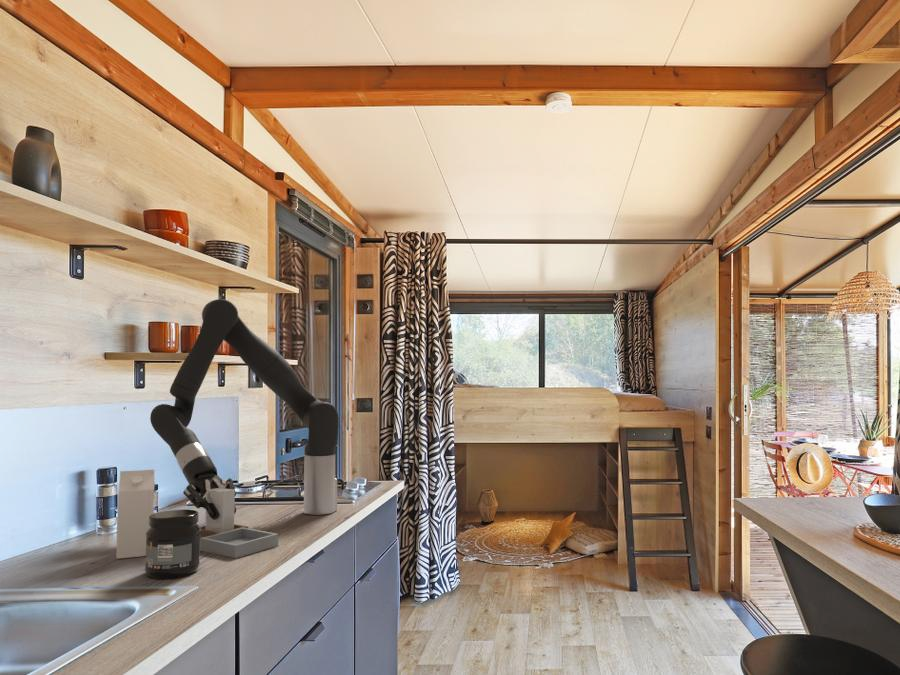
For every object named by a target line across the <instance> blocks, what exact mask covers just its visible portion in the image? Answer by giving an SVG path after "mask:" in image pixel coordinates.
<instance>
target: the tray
mask: <svg viewBox="0 0 900 675" xmlns="http://www.w3.org/2000/svg"><path fill="white" fill-rule="evenodd" d="M278 546H279V533H275V532H270V531H269V532H268V531H264V530H258V529H253V528H249V527H248V528H239V529H235V530H231V531H227V532H223V533H219V534H215V535H211V536H207V537H203V538H200V552H201V551H202V552H204V553H209V554H214V555H219V556H223V557H226V558H227V557H229V558H232V559H237V558H238V559H239V558H241V557H245V556H248V555H251V554H255V553H258V552H261V551H264V550H268V549H271V548H276V547H278Z"/></svg>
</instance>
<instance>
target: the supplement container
mask: <svg viewBox="0 0 900 675" xmlns="http://www.w3.org/2000/svg"><path fill="white" fill-rule="evenodd" d="M199 514H200V513H199V512H198V511H197V510H193V509H169V510H168V509H167V510H162V511H158V512H157V511H156V512H154V514H152V515H150V516H149V526H150V528H149V529H148V531H147V532H146V556H145V565H144V566H145V567H144V573H145V575H147V576H148V577H150V578H153V579H158V580H159V579H160V580H164V579H165V580H166V579H167V580H168V579H177V578H181V577H184V576H189V575H192V574H193V573H195V572H196V571H197V570H198V569H199V567H200V562H201V561H200V552H201V551H200V532H201V528H200V526H201V525H199V524H198V522H199Z"/></svg>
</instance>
